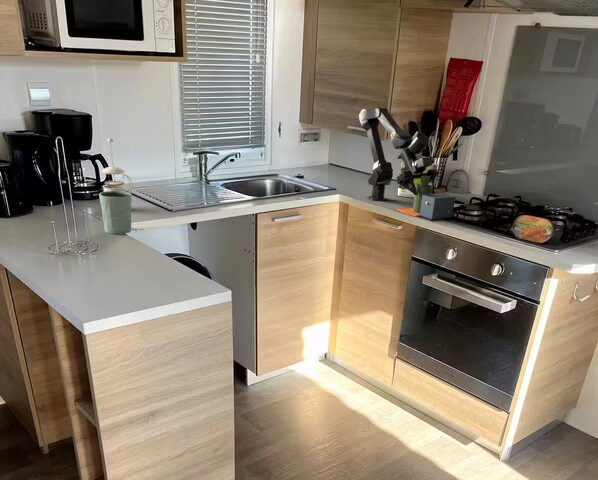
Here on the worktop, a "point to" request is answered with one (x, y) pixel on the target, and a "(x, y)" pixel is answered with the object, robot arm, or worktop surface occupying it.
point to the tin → (533, 228)
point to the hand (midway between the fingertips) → (425, 194)
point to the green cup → (116, 211)
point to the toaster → (437, 206)
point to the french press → (113, 171)
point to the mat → (409, 211)
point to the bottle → (421, 193)
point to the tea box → (405, 192)
